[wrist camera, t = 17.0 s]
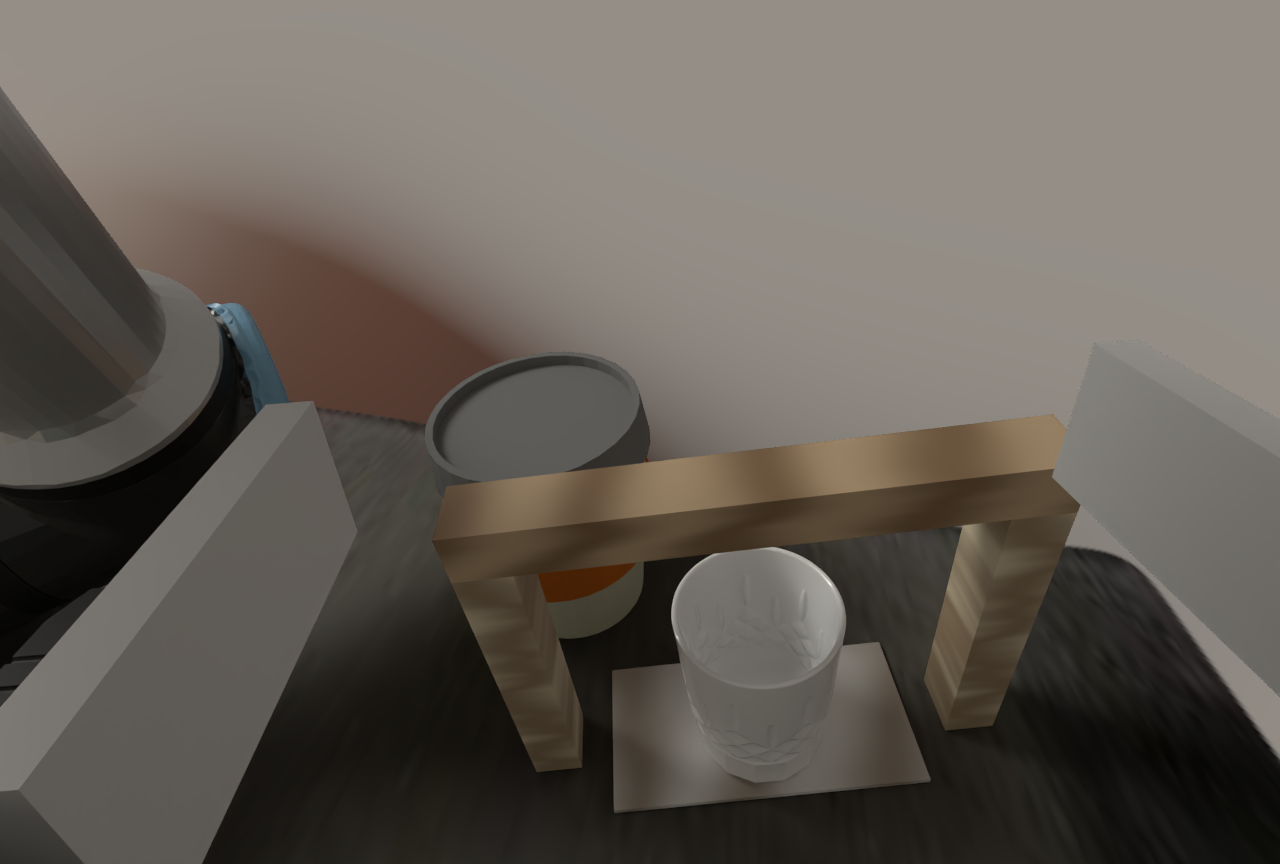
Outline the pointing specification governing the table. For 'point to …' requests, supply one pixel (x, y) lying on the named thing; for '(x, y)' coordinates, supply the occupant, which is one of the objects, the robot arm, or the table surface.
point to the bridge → (752, 519)
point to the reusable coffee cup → (548, 455)
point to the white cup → (759, 657)
